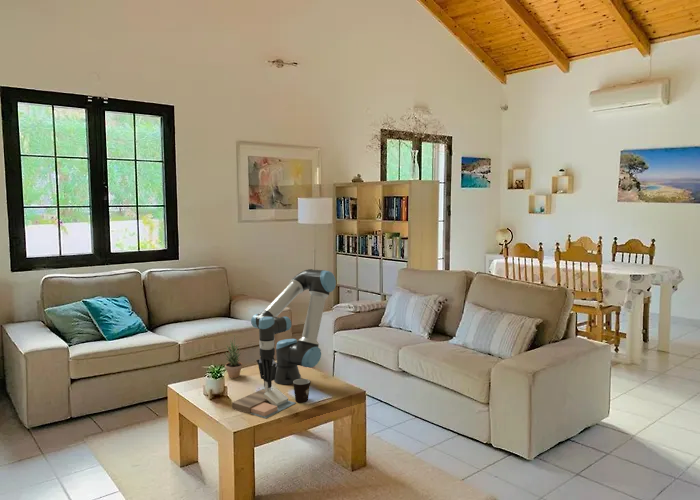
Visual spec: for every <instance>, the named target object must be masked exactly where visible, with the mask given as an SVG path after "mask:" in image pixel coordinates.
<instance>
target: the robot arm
mask: <svg viewBox="0 0 700 500" xmlns="http://www.w3.org/2000/svg"><path fill="white" fill-rule="evenodd" d="M336 287H337V281H336V277H335V274H334V273H333V272H331V271H330V270H323V269H313V268H310V269H309V268H308V269H305V270H302V271H301V272H298V273H297V274H296V275H294V277H292V278H291V279H290V280H289V281H288V284H287V286H286V287H285V288H284V289H283V290H281V292H280V293H279V294H278V295H277V296H276V297H275V298H274V300H273V301H271V302H270V304H268V306H267V307H266V308H265V309H264V310H262V311H261V312H260V313H254V314H253V315H252V316H251V320H250V323H251V325H252V327H253V328H255V329H258V334H259V335H258V337H259V339H258V341H259V342H258V343H259V359H256V363H257V366H258V370H259V375H260V380H263V387H264V389H265V393H266V392H269V391H271V390H272V387H273V386H272V384H273V383H272V382H273V381H274V383H276V384H279V385H292V384H293V381H294V380H297V379H302V376H301V375H302V374H301V372H300V370H299V366H300V367H303V368H314V367H315V366H316V367H317V365H318V364H319V362H320V360H321V357H322V352H321V351H322V350H321V349H320V347H319V345H320V344H319V342H318V337H319V331H320V327H321V323H322V318H323V315H324V314H323V312H324V308H325V303H326V300H327V298H328V297H329V296H330V293H332V292H334V290H335V289H336ZM306 290H307V291H308V293H309V295H310V298H309V303H308V307H307V311H306V316H305V320H304V325H303V330H302V335H301V337H300V338H299V339H298V340H297V339H296V338H285V339H281V340H278V341H277V343H275V335H277V334H280V333H284V332H287V331H289V330H290V329H291V328H292V320H291V318H290V317H288V316H280V317H279V315H280V314H281V313H282V312H283V311H284V310H285V309H286V308H287V307H288V306H289V304H291V303H292V302H293V300H294V299H295V298H296V297H297V296H298V295H299V294H302V293H303V292H305V291H306ZM275 345H276V346H275ZM275 347H276V349H275ZM275 353H276V361H275Z"/></svg>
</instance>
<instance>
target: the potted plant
mask: <svg viewBox="0 0 700 500" xmlns="http://www.w3.org/2000/svg"><path fill="white" fill-rule="evenodd" d="M233 338H234V339H233V340H231V339H230V340H229V342H230V346H229V345H228V344H227V343H226V348H227V350H228V352H229V353H228V352H227V351H225V353H224V356H225V357H226V360H227V361H228V362H227V363H225V366H224V367H225V369H226V372H227V375H228V378H230V379H237V378H239V377H240V375H241V370H242V368H243V363H242V362H240V360H241V359H240V356H241V352H240V350H241V349H240V348H239V347H240V343H238V344H237V345H236V334H234V337H233ZM238 348H239V349H238ZM239 352H240V353H239Z"/></svg>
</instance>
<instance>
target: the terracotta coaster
mask: <svg viewBox="0 0 700 500" xmlns="http://www.w3.org/2000/svg"><path fill="white" fill-rule="evenodd" d="M277 410H278V409H277V406H275V405H272V404H268V403H265V402H263V403H261V404H259V405H257V406H255V407H252V408H251V412H252V413H255V414H258V415H261V416H267V415H269V414H271V413H273V412H275V411H277Z"/></svg>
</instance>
